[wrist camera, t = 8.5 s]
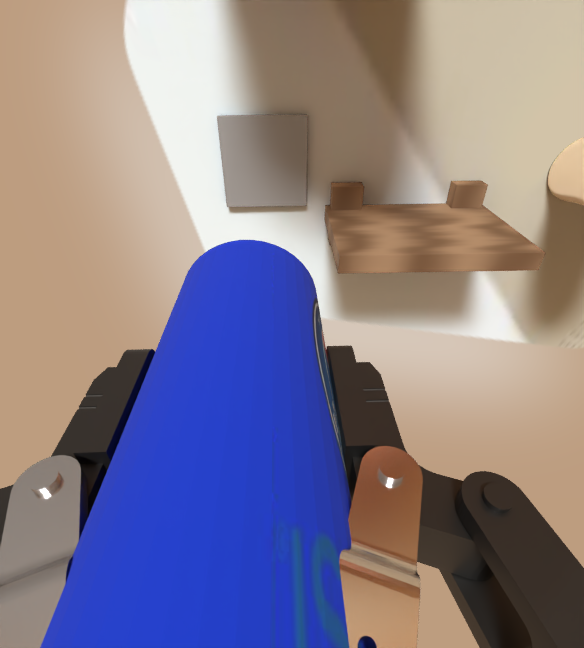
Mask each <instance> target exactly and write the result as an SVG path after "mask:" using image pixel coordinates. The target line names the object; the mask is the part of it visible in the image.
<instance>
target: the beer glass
mask: <svg viewBox="0 0 584 648" xmlns="http://www.w3.org/2000/svg"><path fill="white" fill-rule="evenodd" d="M548 187H549V190H550V191H551V193H552V194H553V195H554V196H555V197H556V198H558V199H561V200H564V201H568V202H573V203H578V204H580V205H582V206H584V137H583V138H580V139H578V140H576V141H574V142H573V143H571V144H570V145H568V146H567V147H566V148H565V149H564V150H563V151H562V152H561V153H560V154H559V155H558V156H557V158H556V159H555V161H554V162H553V164H552V166H551V168H550V171H549V175H548Z"/></svg>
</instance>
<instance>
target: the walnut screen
mask: <svg viewBox="0 0 584 648" xmlns="http://www.w3.org/2000/svg"><path fill="white" fill-rule="evenodd" d="M487 186H488V185H487V184H486V183H484V182H483V181H451V185H450V189H449V194H448V198H447V202H446V204H384V205H362V202H363V192H364V186H363V184H362V182H349V183H331V199H330V205H325V223H326V227H327V231H328V235H329V239H328V240H329V244H330V245H331V247H332V251H333V255H334V258H335V262H336V266H337V270H338V273H392V272H454V271H516V270H539V267H540V265H541V263H542V260H543V258H544V255H545V252H544V251H543V250H541V249H540V248H539V247H537V246H536V245H535V244H533V243H532V242H531V241H529V240H528V239H527V238H525V237H524V236H523V235H521V234H520V233H519V232H517V231H516V230H515V229H513V228H512V227H511V226H509V225H508V224H507V223H505V222H504V221H503V220H502V219H500V218H499V217H498V216H496V215H495V214H494V213H492V212H491V211H490V210H488V209H487V208H486V207H484V206H483V205H482V204H483V200H484V197H485V193H486V190H487Z"/></svg>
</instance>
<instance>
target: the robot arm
mask: <svg viewBox="0 0 584 648" xmlns="http://www.w3.org/2000/svg"><path fill="white" fill-rule="evenodd" d="M326 353H327V359H328V365H329V371H330V377H331V383H332V389H333V395H334V401H335V407H336V413H337V419H338V425H339V431H340V437H341V443H342V449H343V455H344V461H345V467H346V473H347V479H348V485H349V491H350V497H351V503H352V504H351V509H350V513H349V518H348V522H349V528H350V535H351V549H343V550H342V551H341V554H340V560H339V565H340V575H341V583H342V591H343V599H344V607H345V616H346V624H347V632H348V640H349V648H358V647H357V646H358V644H359V643H363V644H364V645H365V646H366V648H417V638H418V621H419V606H420V577H419V575H418V574H417V562H420V563H423V564H426V565H429V566H432V567H435V568H438V569H439V570H440V572H441V574H442V576H443V578H444V580H445V582H446V583H447V585H448V587H449V589H450V591H451V593H452V595H453V597H454V599H455V601H456V603H457V605H458V607H459V609H460V611H461V612H462V614H463V616H464V618H465V620H466V622H467V624H468V626H469V628H470V630H471V631H472V634H473V636H474V638H475V639H476V641H477V643H478V645H479V647H480V648H584V568H583V567H582V566H581V564H580V563H579V562H578V560H577V559H576V558H575V557H574V555H573V554H572V553H571V552H570V550H569V549H568V548H567V547H566V545H565V544H564V543H563V542H562V540H561V539H560V538H559V537H558V535H557V534H556V533H555V532H554V530H553V529H552V528H551V527H550V525H549V524H548V523H547V522H546V520H545V519H544V518H543V517H542V515H541V514H540V513H539V512H538V510H537V509H536V508H535V507H534V505H533V504H532V503H531V502H530V500H529V499H528V498H527V497H526V495H525V494H524V493H523V492H522V491H521V490H520V488H519V487H517V486H516V485H515V484H514V483H513V482H511V481H510V480H508V479H507V478H505V477H503V476H501V475H498V474H495V473H492V472H486V471H484V472H483V471H480V472H475V473H472V474H470V475H469V476H467V477H466V478H465V480H464V481H461V480H457V479H454V478H450V477H446V476H442V475H439V474H436V473H433V472H430V471H428V470H426V469H424V468H423V467H421V466H420V465H418V463H417V462H416V461H415V460H414V458H412V457H411V456H410V455H409V454H408V453H407V452H406V450H405V448H404V445H403V442H402V439H401V436H400V433H399V430H398V427H397V424H396V421H395V418H394V415H393V411H392V408H391V405H390V403H389V399H388V396H387V393H386V391H385V387H384V384H383V381H382V378H381V374H380V373H379V372H378V371H377V370H376V369H375V368H374V367H373V365H372V364H371V363H370V362H359V363H358V362H357V363H356V359H355V355H354V352H353V348H352V346H327V349H326ZM154 354H155V351H154V350H153V349H143V350H126V351H125V352H124V354H123V356H122V358H121V360H120V362H119V363H118V365H117V367H108V368H107V369H106V370H105V371H103V372H102V373H101V374H100V375H99V376H98V377H97V378H96V379H94V381H93V382H92V384H91V386H90V388H89V390H88V391H87V393H86V397H84V399H83V400H82V402H81V404H80V406H79V409H78V410H77V411H76V413H75V415H74V416H73V418H72V420H71V422H70V424H69V425H68V427H67V429H66V431H65V433H64V434H63V436H62V438H61V440H60V442H59V443H58V445H57V447H56V449H55V451H54V452H53V454H52V456H51V457H49V458H46V459H43V460H41V461H39V462H37V463H36V464H34V465H32V466H31V467H30V468H28V469H27V470H26V471H25V472H24V473H22V474H21V476H20V477H19V478H18V479H17V481H16V482H15V484H14V485H11V486H8V487H5V488H2V489H0V648H40V647H41V644H42V642H43V639H44V637H45V634H46V632H47V629H48V627H49V624H50V622H51V619H52V617H53V614H54V612H55V609H56V607H57V604H58V602H59V599H60V597H61V594H62V592H63V589H64V587H65V584H66V580H67V577H68V573H69V569H70V565H71V562H72V558H73V557H72V556H73V554H74V551H75V549H76V546H77V544H78V542H79V539H80V537H81V534H82V532H83V529H84V527H85V524H86V522H87V519H88V517H89V514H90V512H91V510H92V507H93V505H94V502H95V500H96V497H97V495H98V492H99V490H100V487H101V485H102V482H103V480H104V477H105V475H106V473H107V470H108V468H109V465H110V463H111V460H112V458H113V455H114V453H115V450H116V448H117V445H118V443H119V441H120V438H121V436H122V433H123V431H124V428H125V426H126V423H127V421H128V418H129V416H130V413H131V411H132V409H133V406H134V404H135V401H136V399H137V396H138V394H139V391H140V389H141V386H142V384H143V381H144V379H145V376H146V374H147V372H148V369H149V367H150V364H151V362H152V359H153V357H154Z"/></svg>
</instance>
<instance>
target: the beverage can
mask: <svg viewBox="0 0 584 648" xmlns="http://www.w3.org/2000/svg"><path fill="white" fill-rule="evenodd" d="M351 504H352V503H351V497H350V491H349V485H348V479H347V473H346V467H345V461H344V455H343V449H342V443H341V437H340V431H339V425H338V419H337V413H336V407H335V401H334V395H333V389H332V383H331V377H330V371H329V365H328V359H327V353H326V348H325V342H324V336H323V330H322V324H321V318H320V312H319V306H318V300H317V294H316V288H315V285H314V282H313V279H312V277H311V275H310V273H309V272H308V270H307V269H306V268H305V266H304V265H303V264H302V263H301V262H300V261H299V260H298V259H297V258H296V257H295V256H294V255H292V254H291V253H289V252H288V251H286V250H285V249H282V248H280V247H278V246H276V245H273V244H270V243H267V242H263V241H256V240H238V241H231V242H227V243H224V244H221V245H218V246H216V247H214V248H212V249H210V250H208V251H207V252H206V253H204V254H203V255H202V256H200V257H199V258H198V259H197V260H196V261H195V263H194V264H193V265H192V267H191V268H190V270H189V271H188V274H187V276H186V278H185V281H184V283H183V285H182V288H181V290H180V293H179V295H178V298H177V300H176V303H175V305H174V308H173V310H172V312H171V315H170V317H169V320H168V322H167V325H166V327H165V330H164V332H163V335H162V337H161V340H160V342H159V344H158V347H157V350H156V352H155V354H154V357H153V359H152V362H151V364H150V367H149V369H148V372H147V374H146V376H145V379H144V381H143V384H142V386H141V389H140V391H139V394H138V396H137V399H136V401H135V404H134V406H133V409H132V411H131V413H130V416H129V418H128V421H127V423H126V426H125V428H124V431H123V433H122V436H121V438H120V441H119V443H118V445H117V448H116V450H115V453H114V455H113V458H112V460H111V463H110V465H109V468H108V470H107V473H106V475H105V477H104V480H103V482H102V485H101V487H100V490H99V492H98V495H97V497H96V500H95V502H94V505H93V507H92V510H91V512H90V514H89V517H88V519H87V522H86V524H85V527H84V529H83V532H82V534H81V537H80V539H79V542H78V544H77V546H76V549H75V551H74V554H73V556H72V557H73V558H72V562H71V565H70V569H69V573H68V577H67V580H66V584H65V587H64V589H63V592H62V594H61V597H60V599H59V602H58V604H57V607H56V609H55V612H54V614H53V617H52V619H51V622H50V624H49V627H48V629H47V632H46V634H45V637H44V639H43V642H42V644H41V647H40V648H349V640H348V632H347V624H346V616H345V607H344V599H343V591H342V583H341V575H340V565H339V560H340V554H341V551H342V550H343V549H351V535H350V528H349V522H348V518H349V513H350V509H351ZM357 647H358V648H366V646H365V645H364V644H363V643H359V644H358V646H357Z"/></svg>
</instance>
